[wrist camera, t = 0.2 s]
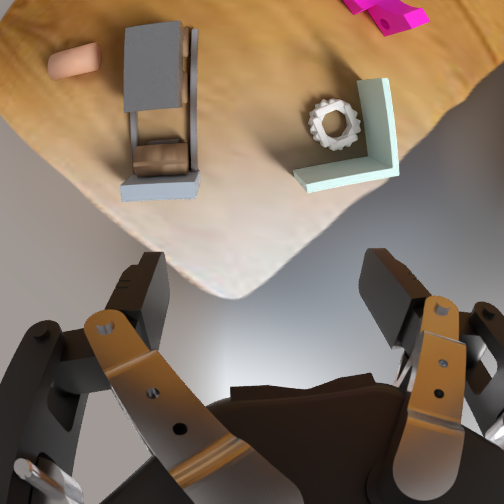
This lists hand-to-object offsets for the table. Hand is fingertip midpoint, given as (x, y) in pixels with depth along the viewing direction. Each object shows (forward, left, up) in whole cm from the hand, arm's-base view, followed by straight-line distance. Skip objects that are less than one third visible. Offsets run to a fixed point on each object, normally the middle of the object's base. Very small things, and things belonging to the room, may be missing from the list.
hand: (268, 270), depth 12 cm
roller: (-14, -22, -29) cm, 39 cm away
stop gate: (+4, -10, -29) cm, 31 cm away
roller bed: (-7, -10, -29) cm, 32 cm away
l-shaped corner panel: (-4, +12, -30) cm, 32 cm away
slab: (-11, -10, -25) cm, 29 cm away
